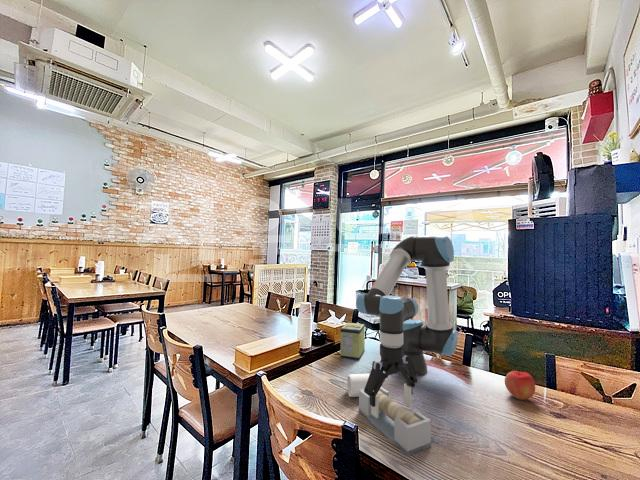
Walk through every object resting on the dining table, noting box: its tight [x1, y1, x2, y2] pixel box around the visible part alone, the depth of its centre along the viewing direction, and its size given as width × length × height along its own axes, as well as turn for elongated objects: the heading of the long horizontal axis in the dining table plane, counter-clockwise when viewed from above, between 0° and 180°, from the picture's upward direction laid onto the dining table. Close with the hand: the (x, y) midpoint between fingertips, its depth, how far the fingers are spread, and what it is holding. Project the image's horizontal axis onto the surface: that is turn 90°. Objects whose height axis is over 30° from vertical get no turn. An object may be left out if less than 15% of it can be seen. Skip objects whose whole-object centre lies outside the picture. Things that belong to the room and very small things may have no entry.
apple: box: [504, 370, 536, 401], centre depth 111 cm, size 10×10×10 cm
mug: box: [346, 373, 370, 398], centre depth 114 cm, size 12×10×8 cm
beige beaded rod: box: [377, 391, 421, 425], centre depth 91 cm, size 20×5×5 cm, turn 26°
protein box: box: [340, 322, 366, 361], centre depth 156 cm, size 10×16×16 cm
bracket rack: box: [358, 386, 432, 457], centre depth 91 cm, size 9×24×8 cm, turn 26°
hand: (391, 410), depth 92 cm, fingers open, 13 cm apart
